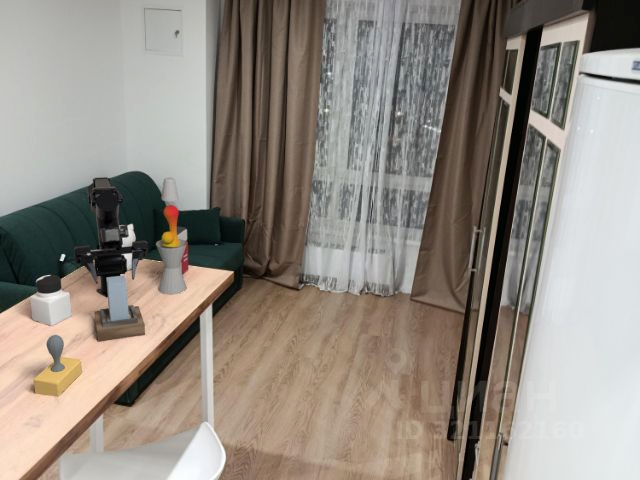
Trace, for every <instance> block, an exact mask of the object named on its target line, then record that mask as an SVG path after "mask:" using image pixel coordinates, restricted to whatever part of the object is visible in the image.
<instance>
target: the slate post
mask: <svg viewBox="0 0 640 480" xmlns="http://www.w3.org/2000/svg"><path fill="white" fill-rule="evenodd" d="M106 279H107V292H108V297H107V302H108V304H107V305H108V308H109V316H110V321H115V320H122V319H129V313H128V306H129V301H128V300H129V299H128V285H127V284H128V283H127V280H126V276H125V275H121V276H115V277H106Z"/></svg>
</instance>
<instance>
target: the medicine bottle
mask: <svg viewBox="0 0 640 480" xmlns="http://www.w3.org/2000/svg"><path fill="white" fill-rule="evenodd" d="M35 285H36V293H35V294H33V295H31V296H30V297H29V301H30V307H31V308H30V309H31V316H32V317H31V318H32V321H34V320H35V321H34V322H37V321H38V323H40V322H41V324H43V323H44V325H46V324H47V326H49V325H50V326H51V327H54V326H55V325H57V324H59V323H61V322H63V321H64V320H67V319H69V318H70V317H72V315H73V314H72V306H71V305H72V304H71V294H70V292H68V291H64V290H62V279H61V277H60V276H59V275H55V274H48V275H43V276H41V277H39V278H37V279H36V281H35Z"/></svg>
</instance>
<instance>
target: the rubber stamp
mask: <svg viewBox="0 0 640 480" xmlns="http://www.w3.org/2000/svg"><path fill="white" fill-rule="evenodd" d="M63 339H64V338H62V337H61V336H60V335H58V334H53V335H50V336H49V337H48V339H47V340H46V348H47V351H48V353H49V354H50V356H51V358H52V359H53V361H52V362H51V363H50V364H49V365H48V366H47V367H46V368H45V369H44V370H43V371H42V372H40V373H39V374H38V375H36V376H35V378H34V379H33V383H34V384H33V385H34V386H33V387H34V392H35V394H36V395H44V396H49V397H60V396H61V395H62V393H64V392H65V390H67V389H68V388H69V387H70V386H71V384H73V382H74V381H75V380H76V379H77V378H79V376H81V374H82V373H83V366H82V365H83V364H82V360H81V359H78V358H74V357H72V358H71V357H63V356H62V353H63V352H64V351H63V350H64V347H65V342H64V340H63Z"/></svg>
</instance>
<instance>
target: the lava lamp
mask: <svg viewBox="0 0 640 480" xmlns="http://www.w3.org/2000/svg"><path fill="white" fill-rule="evenodd" d="M160 199H161V200H162V202H175V201H178V200H179V195H178V189H177V184H176V180H175V178H173V177H166V178H164V179H163V183H162V191H161V198H160ZM179 212H180V211H179V209H178V207H177V206H175V205H173V204H169V205H167V206H165V208H164V210H163V216H164V217H165V219H166V220H167V224H168V225H169V231H170V232H169V231H165V232H163V234H162V235H161V240H158V241H156V242H155V246H156V248H157V251H158V254H159V256H160V258H161V260H162V263H163V265H165V267H164V269H163V272H162V275H161V280H160V281H159V286H158V292H159V293H161V294H163V295H171V296H172V294H173V295H179V294H178V293H180V294H182V293H181V292H183V291H185V290H186V289H187V290H188V286H187V283H186V281H185V279H184V276H183V274H182V272H181V270H180V267H179V265H180V262H181V259H182V256H183V253H184V251H185V248H186V245H187V243H186V241H184V240H182V239H178V237H177V227H178V225H177V224H178V217H179ZM187 290H186V291H187ZM186 291H185V292H186ZM183 293H184V292H183Z"/></svg>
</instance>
